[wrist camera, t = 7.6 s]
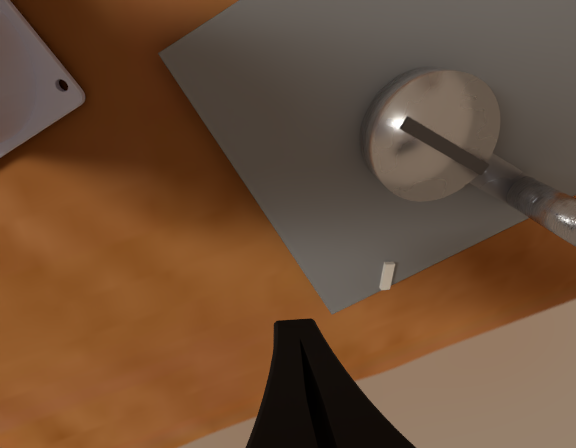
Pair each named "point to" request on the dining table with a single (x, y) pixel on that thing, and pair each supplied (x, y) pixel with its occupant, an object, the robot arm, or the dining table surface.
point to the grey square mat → (350, 112)
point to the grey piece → (451, 146)
